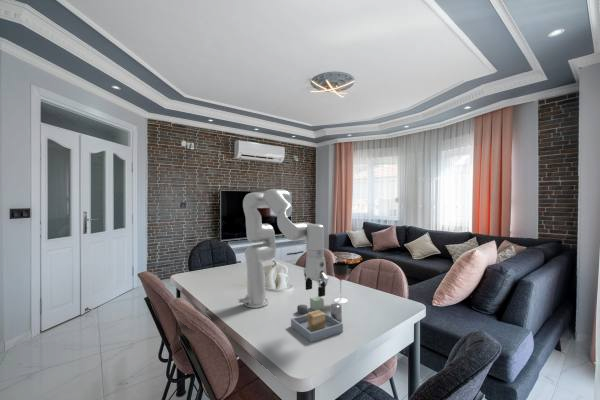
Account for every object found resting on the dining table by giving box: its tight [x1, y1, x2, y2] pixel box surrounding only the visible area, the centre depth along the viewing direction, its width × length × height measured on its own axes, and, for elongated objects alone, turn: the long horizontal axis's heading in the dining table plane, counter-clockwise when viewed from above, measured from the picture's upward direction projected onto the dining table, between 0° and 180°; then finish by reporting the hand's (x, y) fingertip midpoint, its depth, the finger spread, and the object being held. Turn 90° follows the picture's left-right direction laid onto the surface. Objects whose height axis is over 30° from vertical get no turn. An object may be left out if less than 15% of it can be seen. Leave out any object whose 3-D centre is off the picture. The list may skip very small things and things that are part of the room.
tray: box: [290, 311, 344, 343], centre depth 117 cm, size 16×16×3 cm
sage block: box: [309, 295, 325, 311], centre depth 139 cm, size 5×5×5 cm
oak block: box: [307, 310, 326, 331], centre depth 117 cm, size 4×6×6 cm
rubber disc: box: [296, 304, 309, 316], centre depth 134 cm, size 5×5×3 cm
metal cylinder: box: [330, 303, 343, 323], centre depth 124 cm, size 5×5×7 cm
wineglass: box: [332, 261, 349, 304], centre depth 149 cm, size 8×9×20 cm
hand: (315, 292), depth 117 cm, fingers open, 9 cm apart
